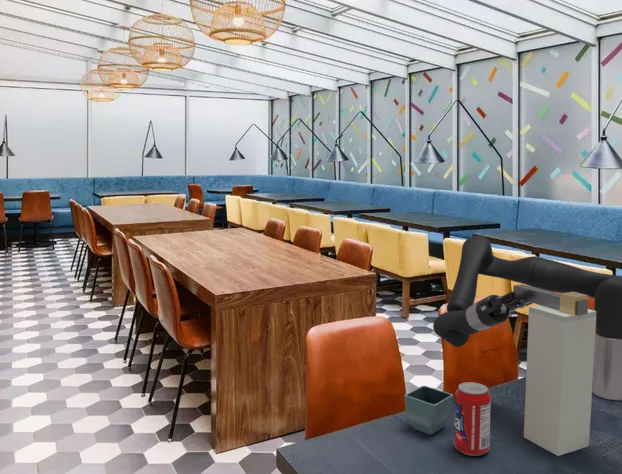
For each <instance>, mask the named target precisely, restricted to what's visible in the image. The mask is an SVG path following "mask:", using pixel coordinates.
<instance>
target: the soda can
mask: <svg viewBox="0 0 622 474" xmlns="http://www.w3.org/2000/svg"><path fill="white" fill-rule="evenodd" d="M491 407H492V395H491V394H490V392H489V388H488V387H487V386H486V385H485V384H481V383H478V382H473V381H471V382H467V381H466V382H462V383H460V384H458V388H457V389H456V391H455V392H454V417H453V418H454V419H453V420H454V423H453V424H454V425H453V427H454V428H453V446H454V448H455V449H456V450H457V451H459V452H460V453H462V454H464V455H466V456H471V457H477V456H482V455H485V454H487V453H488V452H489V451H490V444H491V443H490V441H491V440H490V439H491V437H490V436H491V411H492V410H491V409H492V408H491Z"/></svg>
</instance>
